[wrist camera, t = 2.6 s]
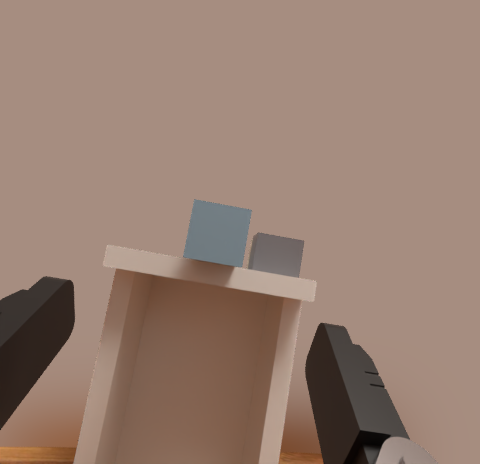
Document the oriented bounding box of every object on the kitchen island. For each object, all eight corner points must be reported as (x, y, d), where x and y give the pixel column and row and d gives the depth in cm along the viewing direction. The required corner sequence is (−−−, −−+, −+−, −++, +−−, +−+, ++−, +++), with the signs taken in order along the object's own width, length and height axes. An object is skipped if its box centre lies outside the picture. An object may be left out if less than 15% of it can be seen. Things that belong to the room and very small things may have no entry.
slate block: (183, 257, 21) (194, 199, 21) (200, 261, 43) (206, 232, 43) (241, 267, 21) (251, 209, 21) (229, 266, 43) (234, 237, 43)
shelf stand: (19, 635, 25) (107, 244, 29) (96, 491, 41) (146, 251, 45) (262, 661, 26) (317, 281, 30) (245, 511, 42) (282, 275, 46)
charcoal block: (252, 269, 32) (258, 232, 33) (247, 269, 37) (253, 236, 38) (298, 278, 33) (304, 240, 33) (288, 276, 38) (293, 244, 38)
